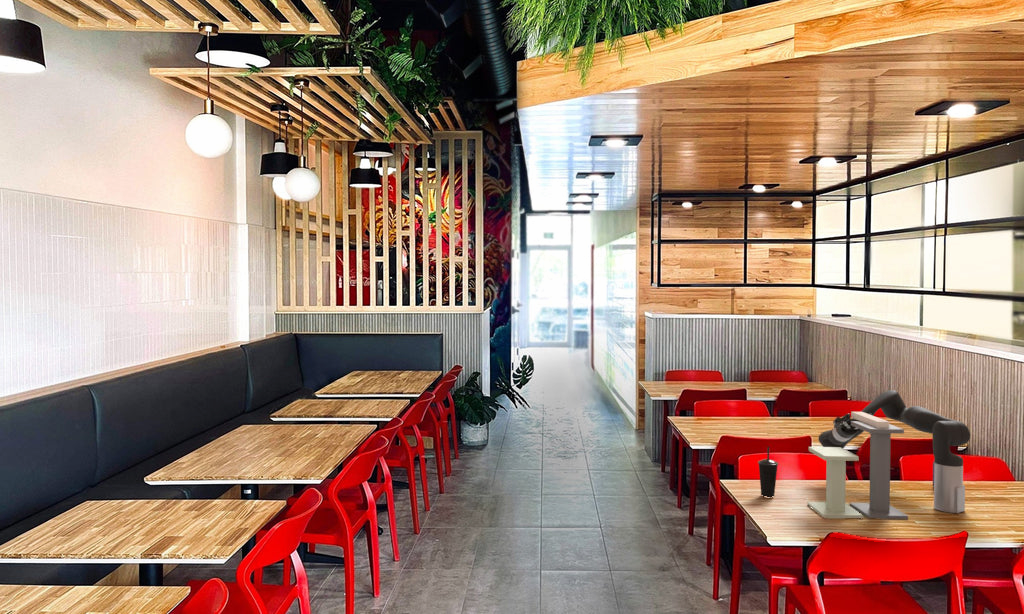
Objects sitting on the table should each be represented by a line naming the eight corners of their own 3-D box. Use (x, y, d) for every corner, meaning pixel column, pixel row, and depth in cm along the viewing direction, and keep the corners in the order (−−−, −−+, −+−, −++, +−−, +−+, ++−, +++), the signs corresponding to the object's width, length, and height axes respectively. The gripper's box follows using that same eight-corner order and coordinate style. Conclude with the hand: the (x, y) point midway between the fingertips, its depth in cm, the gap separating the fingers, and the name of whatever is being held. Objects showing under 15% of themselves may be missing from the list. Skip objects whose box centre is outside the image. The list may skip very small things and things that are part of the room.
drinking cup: (778, 495, 294) (779, 445, 293) (777, 500, 287) (777, 449, 287) (758, 493, 297) (759, 443, 297) (756, 497, 290) (757, 447, 290)
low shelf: (805, 503, 282) (806, 446, 282) (842, 504, 282) (843, 447, 281) (823, 518, 264) (824, 457, 264) (863, 518, 264) (863, 457, 263)
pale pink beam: (851, 417, 290) (851, 411, 290) (862, 417, 290) (862, 411, 290) (877, 427, 268) (877, 421, 268) (889, 427, 268) (889, 421, 268)
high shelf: (847, 504, 282) (848, 421, 281) (884, 504, 281) (885, 421, 281) (868, 518, 264) (869, 430, 263) (908, 519, 263) (909, 430, 263)
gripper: (825, 421, 303) (839, 406, 289) (860, 421, 302) (876, 407, 288) (829, 438, 299) (843, 424, 285) (864, 438, 299) (881, 425, 285)
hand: (860, 415), depth 287 cm, fingers open, 8 cm apart
